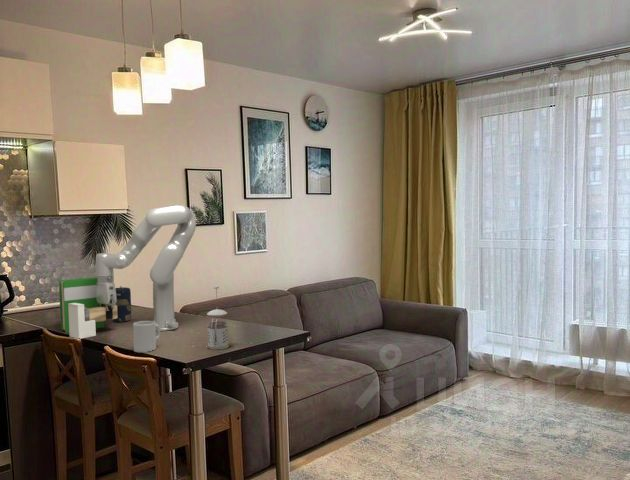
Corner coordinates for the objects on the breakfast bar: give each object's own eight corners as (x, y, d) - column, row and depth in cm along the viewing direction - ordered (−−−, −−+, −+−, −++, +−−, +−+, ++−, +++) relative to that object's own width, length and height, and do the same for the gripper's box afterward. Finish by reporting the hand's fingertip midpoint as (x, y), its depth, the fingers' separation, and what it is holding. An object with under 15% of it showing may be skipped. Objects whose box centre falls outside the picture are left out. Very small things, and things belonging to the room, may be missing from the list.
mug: (144, 353, 211) (143, 325, 210) (129, 351, 215) (128, 323, 214) (167, 346, 221) (166, 320, 221) (152, 344, 225) (151, 318, 225)
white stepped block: (95, 335, 245) (94, 302, 244) (79, 339, 239) (77, 305, 238) (86, 333, 250) (85, 301, 249) (69, 336, 244) (68, 303, 243)
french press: (232, 343, 224) (230, 283, 223) (226, 351, 212) (225, 287, 211) (208, 344, 224) (207, 284, 223) (201, 351, 213) (200, 287, 211)
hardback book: (65, 332, 253) (63, 281, 252) (60, 330, 258) (58, 280, 257) (103, 327, 264) (102, 278, 263) (98, 325, 270) (96, 277, 269)
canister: (134, 319, 283) (133, 285, 283) (126, 322, 274) (125, 287, 273) (117, 319, 284) (116, 285, 284) (108, 322, 275) (107, 287, 274)
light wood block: (117, 318, 256) (117, 303, 256) (85, 323, 243) (85, 307, 243) (112, 317, 258) (112, 302, 258) (80, 322, 246) (80, 307, 245)
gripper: (122, 279, 251) (124, 319, 251) (102, 277, 261) (103, 315, 262) (107, 281, 245) (109, 321, 246) (87, 279, 255) (89, 318, 256)
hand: (106, 318), depth 254 cm, fingers closed on light wood block, 4 cm apart
